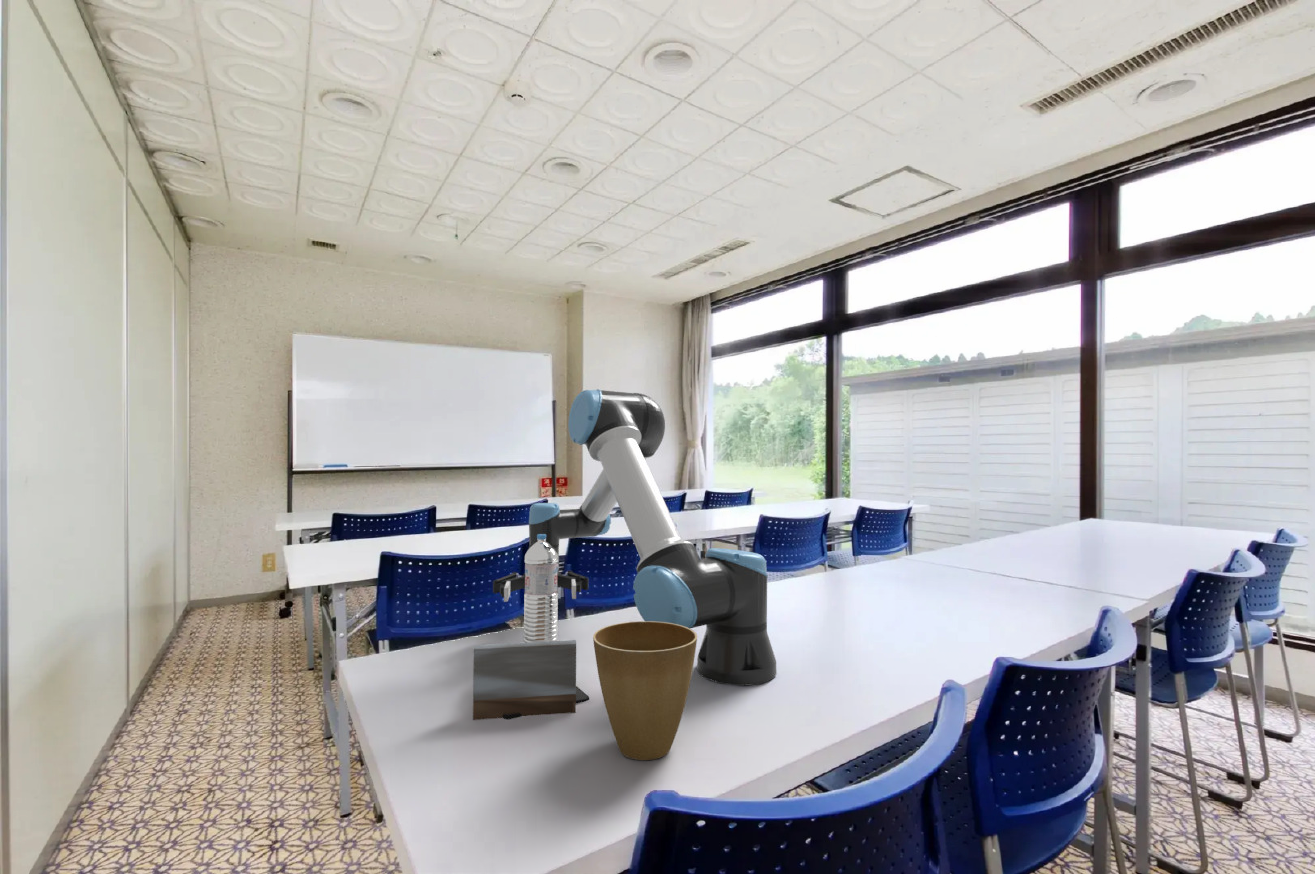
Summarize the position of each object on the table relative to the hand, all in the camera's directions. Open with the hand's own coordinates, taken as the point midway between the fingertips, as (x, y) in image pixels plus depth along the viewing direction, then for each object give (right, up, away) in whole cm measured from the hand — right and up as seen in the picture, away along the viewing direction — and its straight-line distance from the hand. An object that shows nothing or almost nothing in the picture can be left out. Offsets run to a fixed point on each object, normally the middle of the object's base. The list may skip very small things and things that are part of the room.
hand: (540, 593), depth 119 cm
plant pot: (+22, -13, -35) cm, 43 cm away
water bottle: (0, -14, +2) cm, 14 cm away
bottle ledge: (+2, -13, -19) cm, 23 cm away
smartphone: (+4, -13, -20) cm, 25 cm away
